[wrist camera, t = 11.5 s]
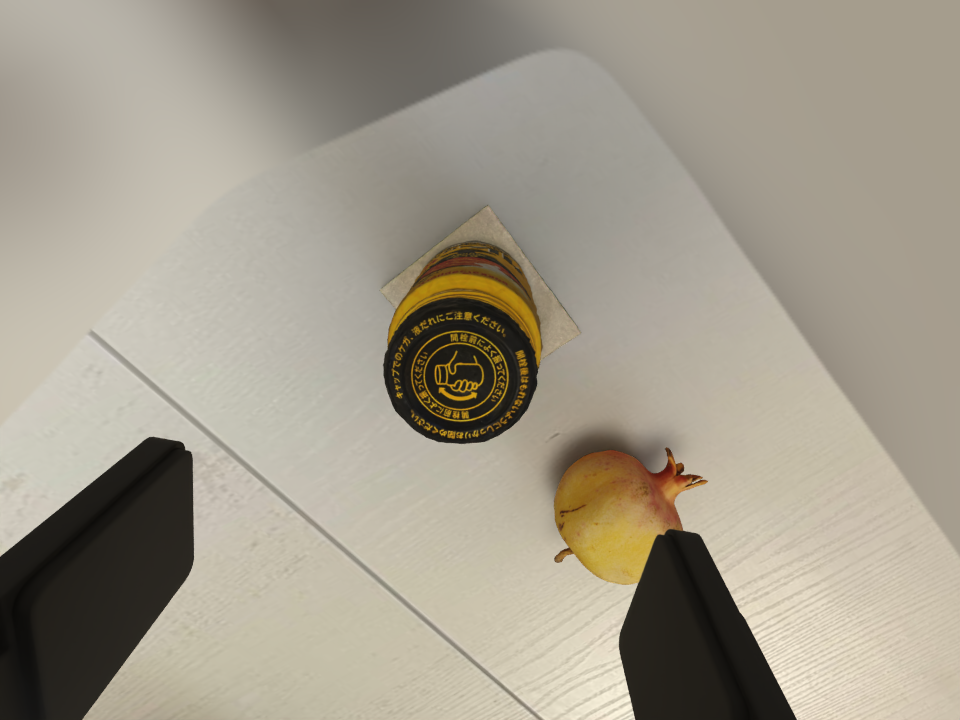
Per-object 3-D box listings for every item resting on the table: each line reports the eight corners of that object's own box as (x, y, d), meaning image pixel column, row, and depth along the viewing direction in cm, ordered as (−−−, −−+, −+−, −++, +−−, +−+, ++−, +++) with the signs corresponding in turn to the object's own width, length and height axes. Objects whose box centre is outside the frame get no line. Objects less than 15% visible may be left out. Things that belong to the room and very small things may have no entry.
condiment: (487, 204, 28) (480, 234, 16) (580, 332, 30) (630, 436, 19) (379, 289, 29) (306, 369, 18) (475, 404, 32) (462, 539, 20)
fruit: (602, 642, 30) (760, 546, 27) (522, 593, 27) (692, 479, 24) (569, 542, 36) (697, 454, 33) (500, 492, 33) (635, 391, 30)
